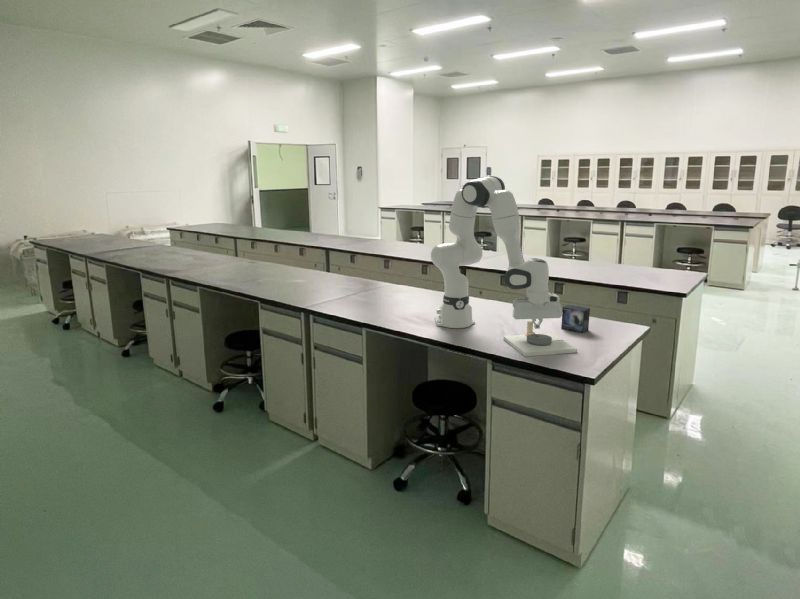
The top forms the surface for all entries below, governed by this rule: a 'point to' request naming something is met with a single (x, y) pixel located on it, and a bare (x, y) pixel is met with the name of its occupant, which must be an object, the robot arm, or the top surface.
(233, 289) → the top surface
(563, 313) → the small box
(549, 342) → the dial
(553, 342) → the dial plate
